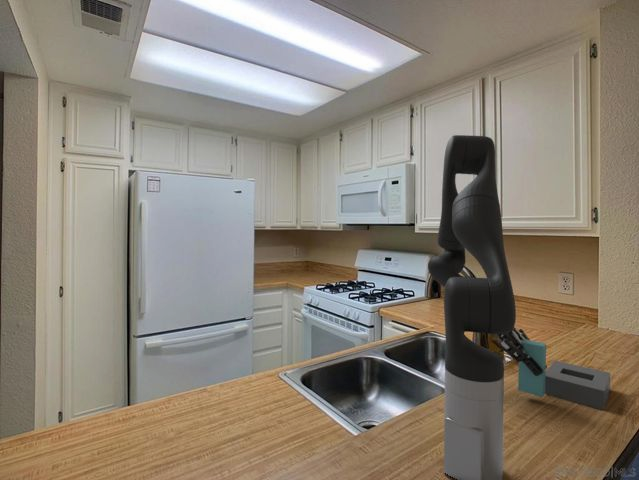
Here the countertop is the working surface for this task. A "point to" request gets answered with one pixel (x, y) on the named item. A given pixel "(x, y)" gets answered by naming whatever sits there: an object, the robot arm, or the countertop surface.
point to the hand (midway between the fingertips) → (541, 371)
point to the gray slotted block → (578, 384)
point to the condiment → (496, 346)
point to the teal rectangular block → (526, 377)
